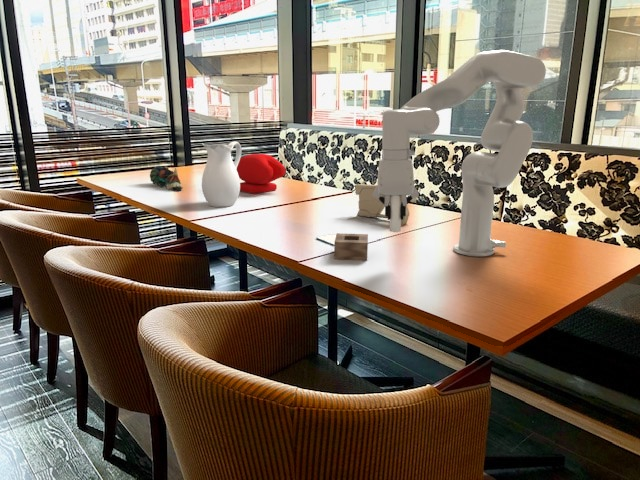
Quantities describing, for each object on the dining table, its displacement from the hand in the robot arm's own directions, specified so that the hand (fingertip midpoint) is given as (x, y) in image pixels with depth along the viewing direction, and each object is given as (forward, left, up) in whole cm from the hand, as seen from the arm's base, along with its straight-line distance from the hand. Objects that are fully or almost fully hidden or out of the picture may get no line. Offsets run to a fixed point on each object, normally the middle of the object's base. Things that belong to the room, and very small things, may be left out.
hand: (395, 218), depth 150 cm
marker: (0, 0, -4) cm, 4 cm away
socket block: (+13, -8, -14) cm, 20 cm away
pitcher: (+73, -81, -14) cm, 110 cm away
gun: (+3, -57, -14) cm, 58 cm away
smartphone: (+18, -21, -15) cm, 31 cm away
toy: (+65, -112, -14) cm, 131 cm away
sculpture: (+115, -118, -14) cm, 165 cm away
